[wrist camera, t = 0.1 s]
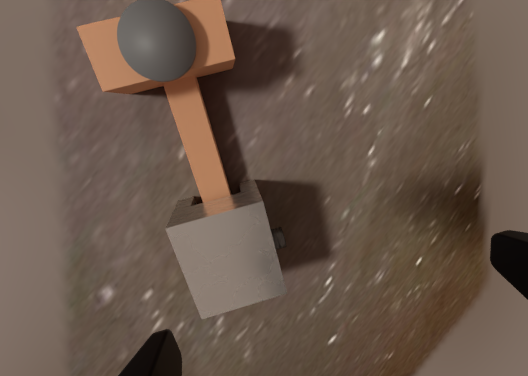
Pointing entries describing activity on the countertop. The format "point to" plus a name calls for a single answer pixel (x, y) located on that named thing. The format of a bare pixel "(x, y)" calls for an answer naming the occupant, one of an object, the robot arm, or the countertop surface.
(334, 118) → the countertop surface
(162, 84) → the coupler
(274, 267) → the grey cube with knob
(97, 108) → the countertop surface
